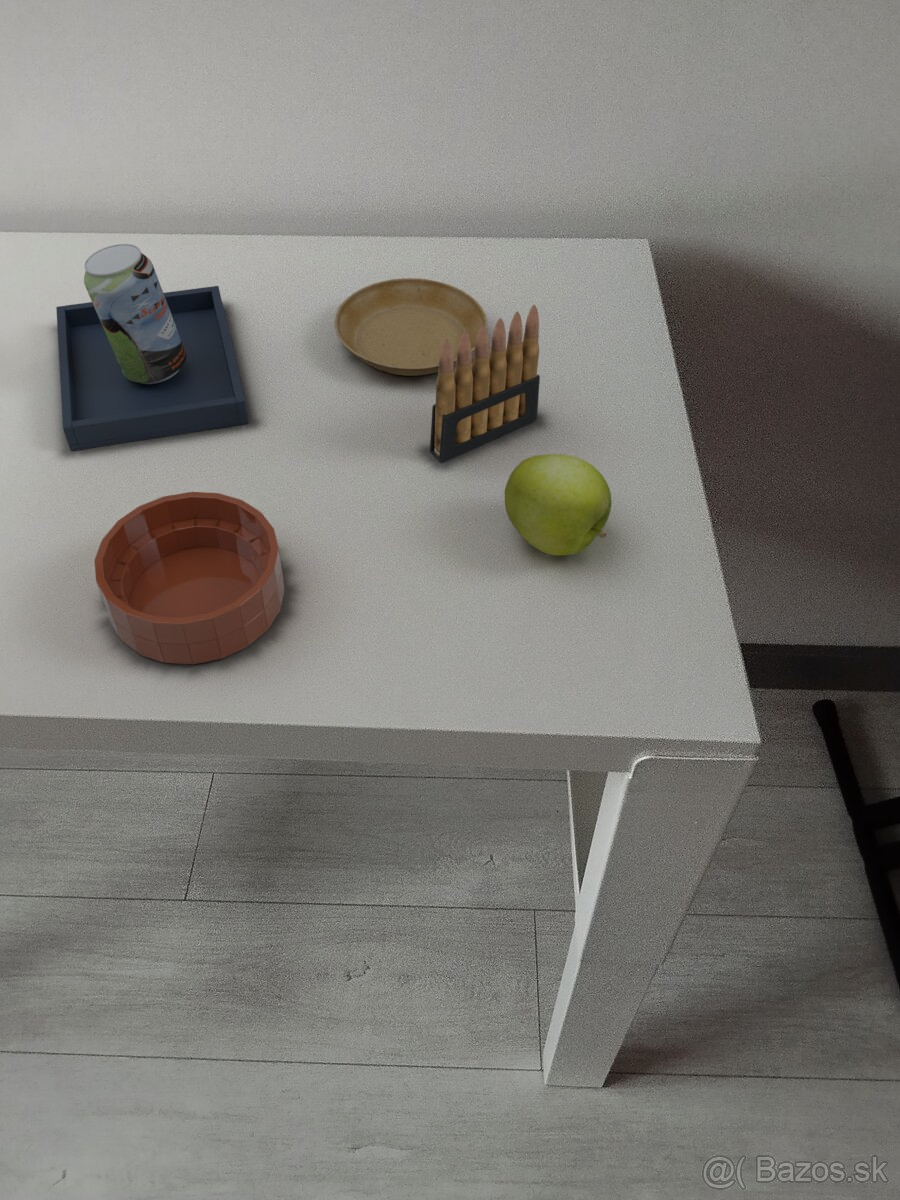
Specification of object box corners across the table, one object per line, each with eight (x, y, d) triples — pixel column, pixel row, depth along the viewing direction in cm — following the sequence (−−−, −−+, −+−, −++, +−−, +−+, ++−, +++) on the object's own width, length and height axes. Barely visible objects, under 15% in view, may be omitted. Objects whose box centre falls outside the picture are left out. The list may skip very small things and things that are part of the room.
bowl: (116, 682, 75) (100, 639, 71) (105, 553, 83) (90, 508, 79) (297, 646, 78) (291, 603, 74) (269, 524, 86) (262, 479, 82)
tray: (70, 451, 91) (62, 428, 89) (63, 329, 103) (56, 306, 101) (248, 423, 94) (245, 400, 92) (222, 307, 106) (218, 285, 104)
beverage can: (182, 393, 96) (157, 278, 86) (102, 391, 96) (68, 275, 86) (195, 352, 100) (172, 237, 90) (118, 349, 100) (88, 235, 90)
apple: (577, 595, 82) (590, 523, 75) (483, 543, 85) (488, 470, 79) (628, 538, 86) (644, 466, 80) (536, 491, 89) (545, 418, 83)
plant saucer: (517, 343, 103) (518, 321, 101) (411, 411, 96) (411, 388, 94) (411, 283, 109) (410, 261, 107) (304, 342, 102) (302, 319, 100)
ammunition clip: (525, 409, 96) (536, 296, 87) (537, 420, 95) (550, 307, 86) (429, 451, 92) (430, 337, 83) (440, 463, 91) (443, 349, 82)
